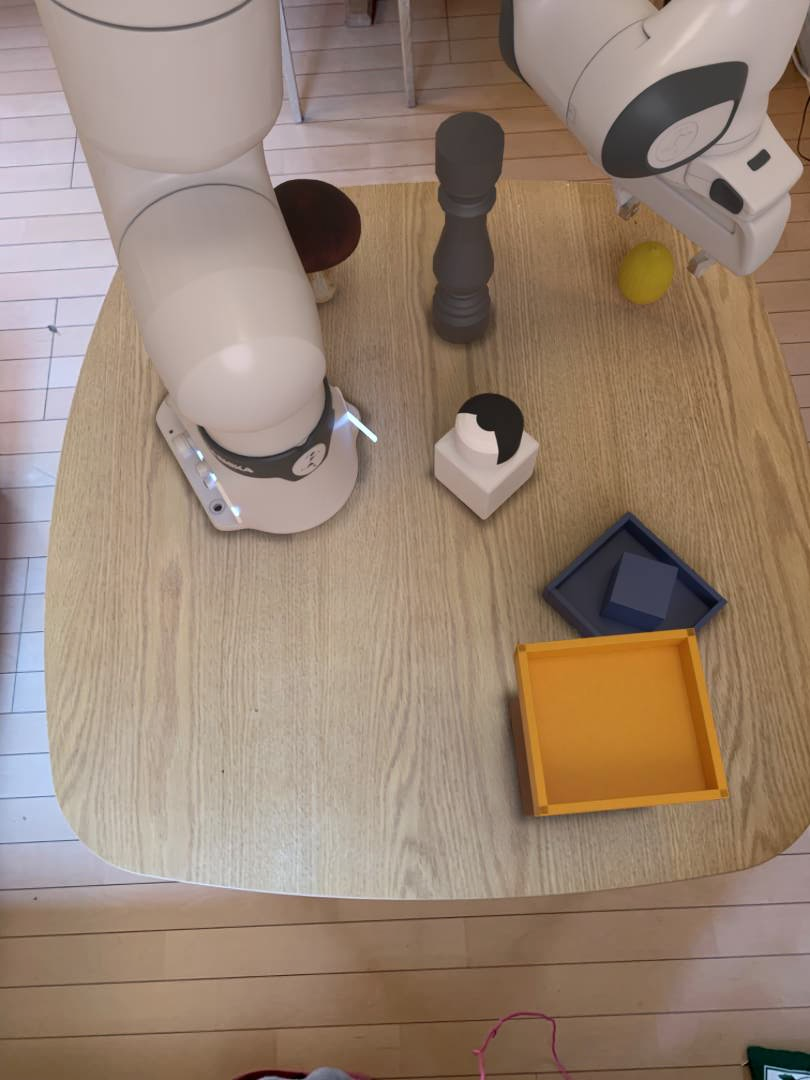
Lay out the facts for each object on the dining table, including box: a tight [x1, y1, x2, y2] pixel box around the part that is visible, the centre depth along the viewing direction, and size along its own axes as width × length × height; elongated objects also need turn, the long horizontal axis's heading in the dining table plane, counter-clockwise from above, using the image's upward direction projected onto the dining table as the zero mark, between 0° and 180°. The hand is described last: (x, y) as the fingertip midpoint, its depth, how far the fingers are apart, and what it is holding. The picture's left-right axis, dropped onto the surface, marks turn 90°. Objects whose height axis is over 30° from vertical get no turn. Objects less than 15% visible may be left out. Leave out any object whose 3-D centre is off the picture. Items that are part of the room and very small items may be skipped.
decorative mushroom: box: [273, 178, 362, 304], centre depth 87 cm, size 11×11×15 cm
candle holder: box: [431, 111, 506, 345], centre depth 80 cm, size 6×6×25 cm
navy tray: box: [541, 510, 729, 638], centre depth 79 cm, size 12×11×3 cm
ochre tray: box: [508, 628, 730, 818], centre depth 66 cm, size 12×11×21 cm
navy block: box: [600, 551, 678, 632], centre depth 78 cm, size 5×5×5 cm
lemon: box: [617, 240, 675, 305], centre depth 89 cm, size 6×6×8 cm
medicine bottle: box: [433, 392, 540, 521], centre depth 80 cm, size 7×7×12 cm
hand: (660, 241), depth 84 cm, fingers open, 8 cm apart
